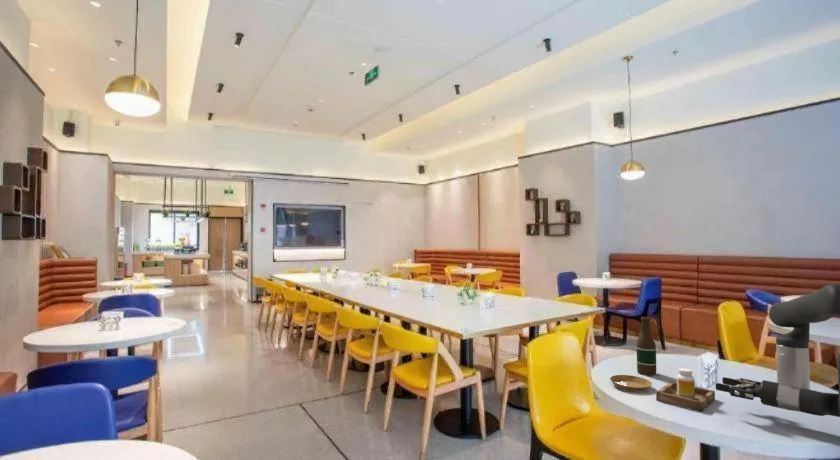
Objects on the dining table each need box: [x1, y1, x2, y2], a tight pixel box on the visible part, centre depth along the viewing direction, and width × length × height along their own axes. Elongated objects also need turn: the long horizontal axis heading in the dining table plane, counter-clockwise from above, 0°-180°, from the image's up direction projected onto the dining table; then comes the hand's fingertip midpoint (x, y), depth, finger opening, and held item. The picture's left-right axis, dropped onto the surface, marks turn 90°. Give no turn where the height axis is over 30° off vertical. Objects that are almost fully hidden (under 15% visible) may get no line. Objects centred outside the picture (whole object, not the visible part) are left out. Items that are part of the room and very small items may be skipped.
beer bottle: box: [636, 316, 657, 377], centre depth 183 cm, size 8×8×24 cm
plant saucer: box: [609, 374, 653, 393], centre depth 166 cm, size 15×15×3 cm
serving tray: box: [655, 381, 716, 413], centre depth 152 cm, size 16×14×3 cm
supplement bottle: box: [676, 367, 696, 399], centre depth 152 cm, size 5×5×10 cm
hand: (719, 383), depth 145 cm, fingers open, 8 cm apart
